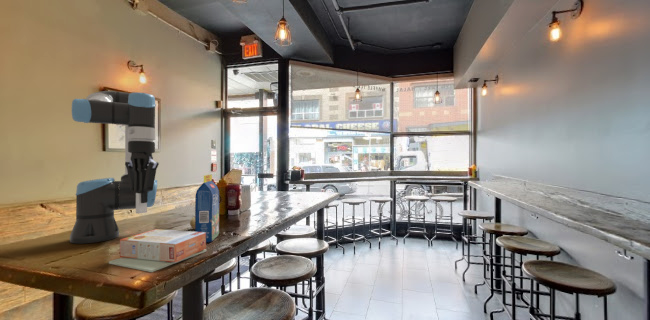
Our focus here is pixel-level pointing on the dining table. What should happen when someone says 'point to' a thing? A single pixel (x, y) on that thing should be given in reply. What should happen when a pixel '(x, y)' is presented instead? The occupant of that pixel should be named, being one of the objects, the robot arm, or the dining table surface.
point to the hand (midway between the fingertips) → (141, 212)
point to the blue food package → (207, 209)
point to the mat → (146, 263)
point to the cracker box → (163, 245)
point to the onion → (192, 223)
